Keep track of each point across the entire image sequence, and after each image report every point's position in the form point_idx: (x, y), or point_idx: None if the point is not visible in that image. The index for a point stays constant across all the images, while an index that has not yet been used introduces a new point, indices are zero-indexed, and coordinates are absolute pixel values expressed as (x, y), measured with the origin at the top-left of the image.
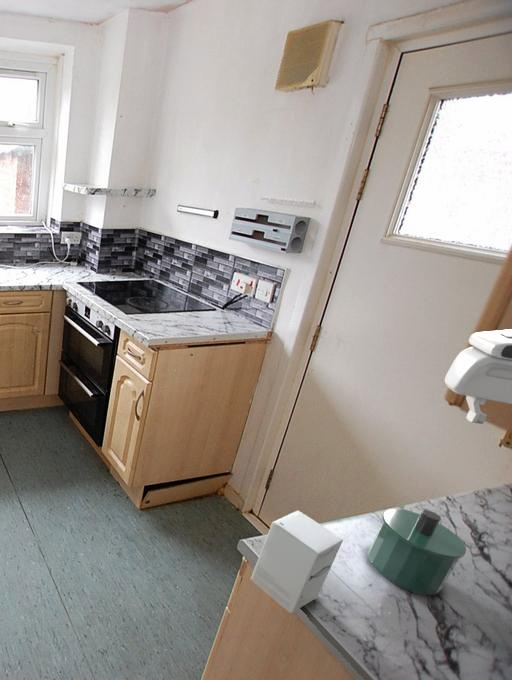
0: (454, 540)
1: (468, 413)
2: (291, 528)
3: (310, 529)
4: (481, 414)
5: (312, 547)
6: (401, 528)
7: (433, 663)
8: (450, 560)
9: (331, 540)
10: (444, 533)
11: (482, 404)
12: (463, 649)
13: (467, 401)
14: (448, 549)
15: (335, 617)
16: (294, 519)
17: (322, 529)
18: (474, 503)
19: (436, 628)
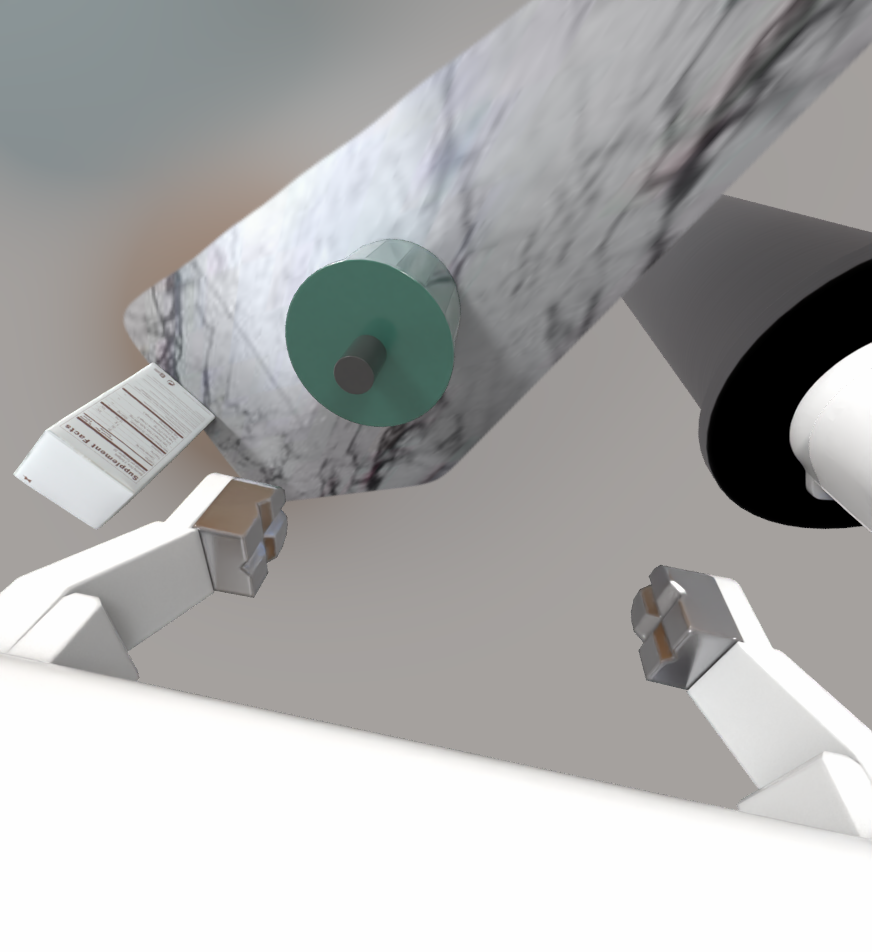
0: (432, 371)
1: (192, 497)
2: (45, 487)
3: (75, 484)
4: (217, 589)
5: (86, 520)
6: (314, 357)
7: (348, 484)
8: None
9: (113, 502)
10: (422, 350)
11: (131, 670)
12: (404, 460)
13: (68, 565)
14: (393, 408)
15: (240, 441)
16: (45, 462)
17: (97, 478)
18: None
19: (385, 433)
